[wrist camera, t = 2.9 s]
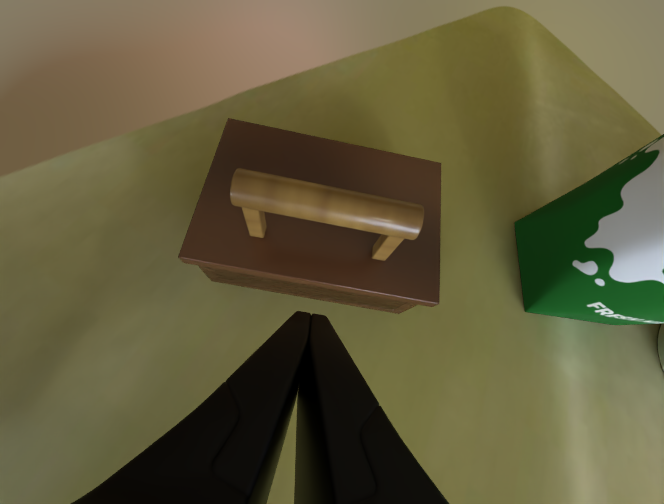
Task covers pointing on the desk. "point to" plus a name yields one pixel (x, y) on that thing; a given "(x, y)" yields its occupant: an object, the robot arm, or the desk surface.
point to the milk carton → (600, 246)
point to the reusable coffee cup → (661, 345)
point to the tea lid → (319, 214)
